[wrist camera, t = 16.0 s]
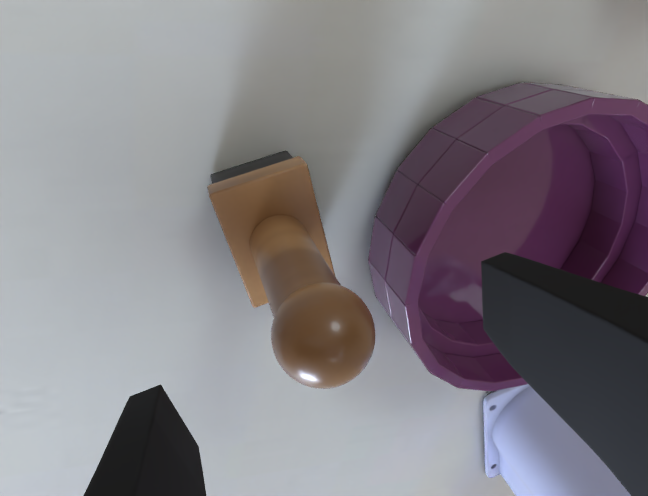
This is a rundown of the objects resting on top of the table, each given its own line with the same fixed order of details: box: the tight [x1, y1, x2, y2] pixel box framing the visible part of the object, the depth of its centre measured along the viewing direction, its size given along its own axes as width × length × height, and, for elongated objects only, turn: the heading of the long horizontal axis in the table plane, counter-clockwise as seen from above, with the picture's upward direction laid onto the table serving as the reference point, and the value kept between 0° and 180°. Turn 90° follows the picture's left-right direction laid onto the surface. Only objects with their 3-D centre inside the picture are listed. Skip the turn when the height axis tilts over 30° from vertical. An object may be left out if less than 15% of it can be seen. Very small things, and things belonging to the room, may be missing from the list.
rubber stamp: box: [207, 151, 375, 389], centre depth 15 cm, size 5×4×10 cm
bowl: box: [368, 82, 648, 391], centre depth 21 cm, size 14×14×4 cm
